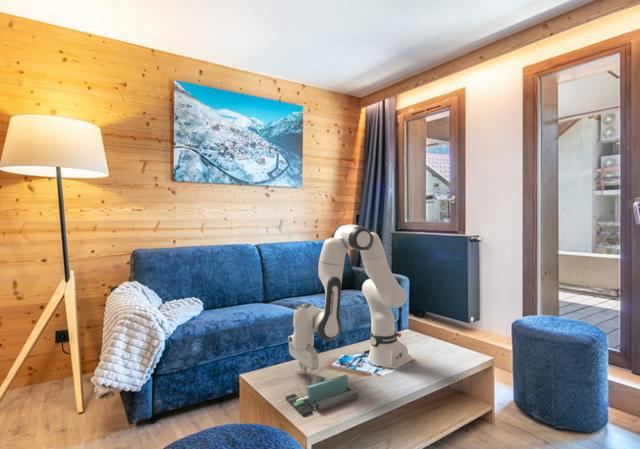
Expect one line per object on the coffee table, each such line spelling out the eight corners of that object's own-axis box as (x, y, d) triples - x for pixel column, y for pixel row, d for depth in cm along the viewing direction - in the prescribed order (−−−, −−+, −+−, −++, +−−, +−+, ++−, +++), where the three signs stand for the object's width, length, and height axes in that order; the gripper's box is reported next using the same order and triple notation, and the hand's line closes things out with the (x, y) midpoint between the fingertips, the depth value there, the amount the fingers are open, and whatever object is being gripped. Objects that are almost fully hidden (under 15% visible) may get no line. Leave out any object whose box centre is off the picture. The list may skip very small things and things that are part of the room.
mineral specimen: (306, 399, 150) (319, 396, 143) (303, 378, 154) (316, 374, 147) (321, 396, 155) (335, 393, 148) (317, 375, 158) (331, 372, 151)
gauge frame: (338, 382, 157) (338, 375, 156) (360, 398, 144) (360, 390, 144) (285, 399, 143) (285, 391, 143) (304, 418, 131) (304, 409, 130)
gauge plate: (345, 389, 150) (345, 374, 150) (347, 390, 149) (347, 376, 149) (295, 405, 138) (295, 389, 138) (297, 407, 137) (297, 391, 137)
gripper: (322, 347, 153) (322, 379, 154) (298, 332, 171) (298, 362, 172) (309, 350, 150) (309, 383, 151) (286, 335, 167) (286, 365, 168)
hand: (303, 372), depth 161 cm, fingers closed
